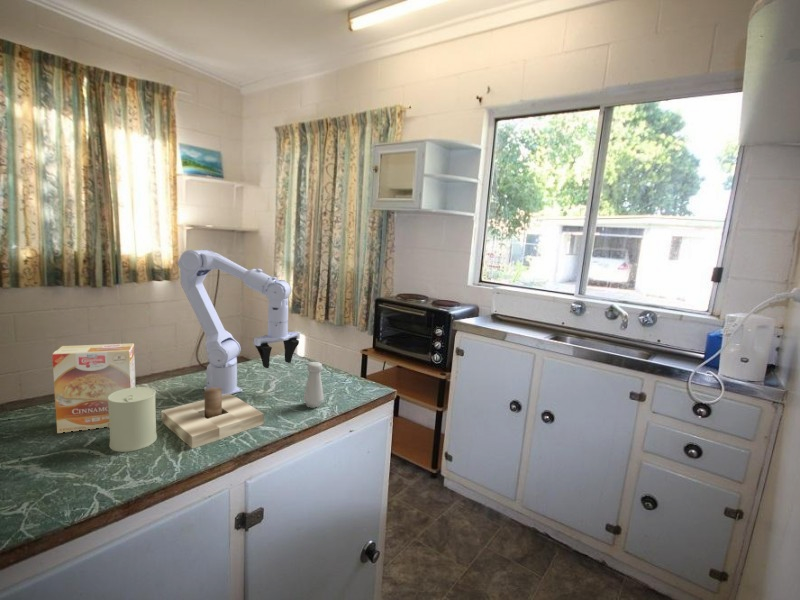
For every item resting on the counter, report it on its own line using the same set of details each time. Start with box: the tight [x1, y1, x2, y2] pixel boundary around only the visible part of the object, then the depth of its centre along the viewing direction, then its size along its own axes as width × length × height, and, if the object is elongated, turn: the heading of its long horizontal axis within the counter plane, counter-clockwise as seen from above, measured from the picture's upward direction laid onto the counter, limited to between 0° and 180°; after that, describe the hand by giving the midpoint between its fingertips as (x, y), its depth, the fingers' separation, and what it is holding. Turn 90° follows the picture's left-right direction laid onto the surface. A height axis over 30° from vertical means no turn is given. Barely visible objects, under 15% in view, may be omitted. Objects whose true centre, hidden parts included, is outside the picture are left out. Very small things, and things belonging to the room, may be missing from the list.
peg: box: [203, 387, 222, 419], centre depth 103 cm, size 4×4×9 cm
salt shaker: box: [303, 361, 324, 409], centre depth 118 cm, size 6×6×13 cm
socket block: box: [160, 393, 265, 450], centre depth 104 cm, size 18×18×3 cm
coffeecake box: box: [52, 342, 136, 434], centre depth 99 cm, size 15×7×20 cm, turn 115°
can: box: [108, 386, 158, 453], centre depth 92 cm, size 9×9×12 cm
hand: (277, 364), depth 123 cm, fingers open, 7 cm apart
